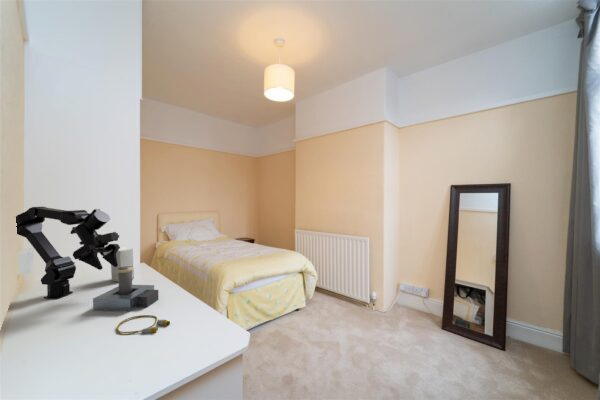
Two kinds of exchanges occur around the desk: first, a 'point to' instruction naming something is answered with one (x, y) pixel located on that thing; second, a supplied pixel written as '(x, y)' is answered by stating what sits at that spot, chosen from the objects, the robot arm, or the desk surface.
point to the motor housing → (126, 299)
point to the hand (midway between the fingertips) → (109, 267)
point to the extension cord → (146, 330)
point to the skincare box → (122, 261)
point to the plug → (125, 280)
